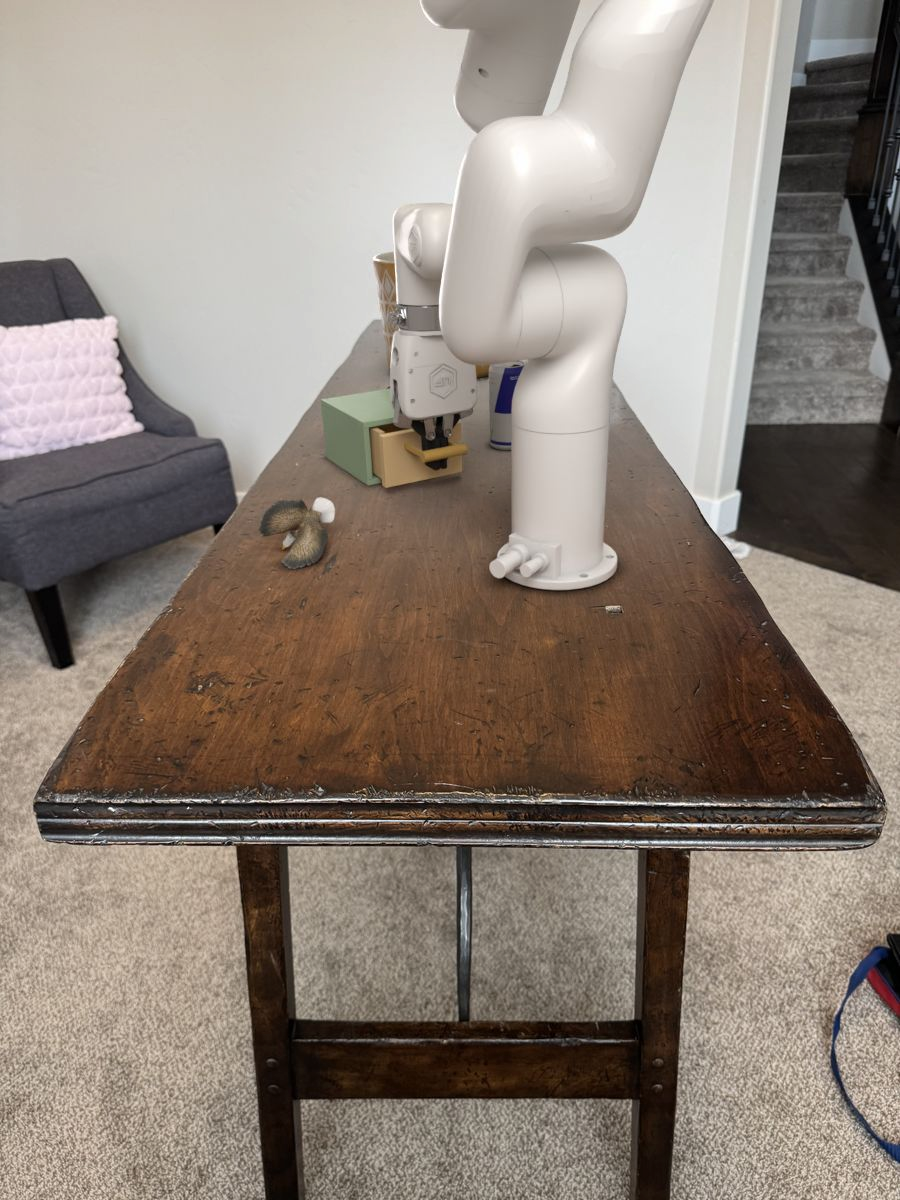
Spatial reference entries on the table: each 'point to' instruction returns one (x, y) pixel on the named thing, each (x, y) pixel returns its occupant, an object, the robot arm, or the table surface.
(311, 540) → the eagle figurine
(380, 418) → the cabinet
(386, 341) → the planter
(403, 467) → the drawer
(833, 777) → the table surface
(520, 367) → the energy drink
